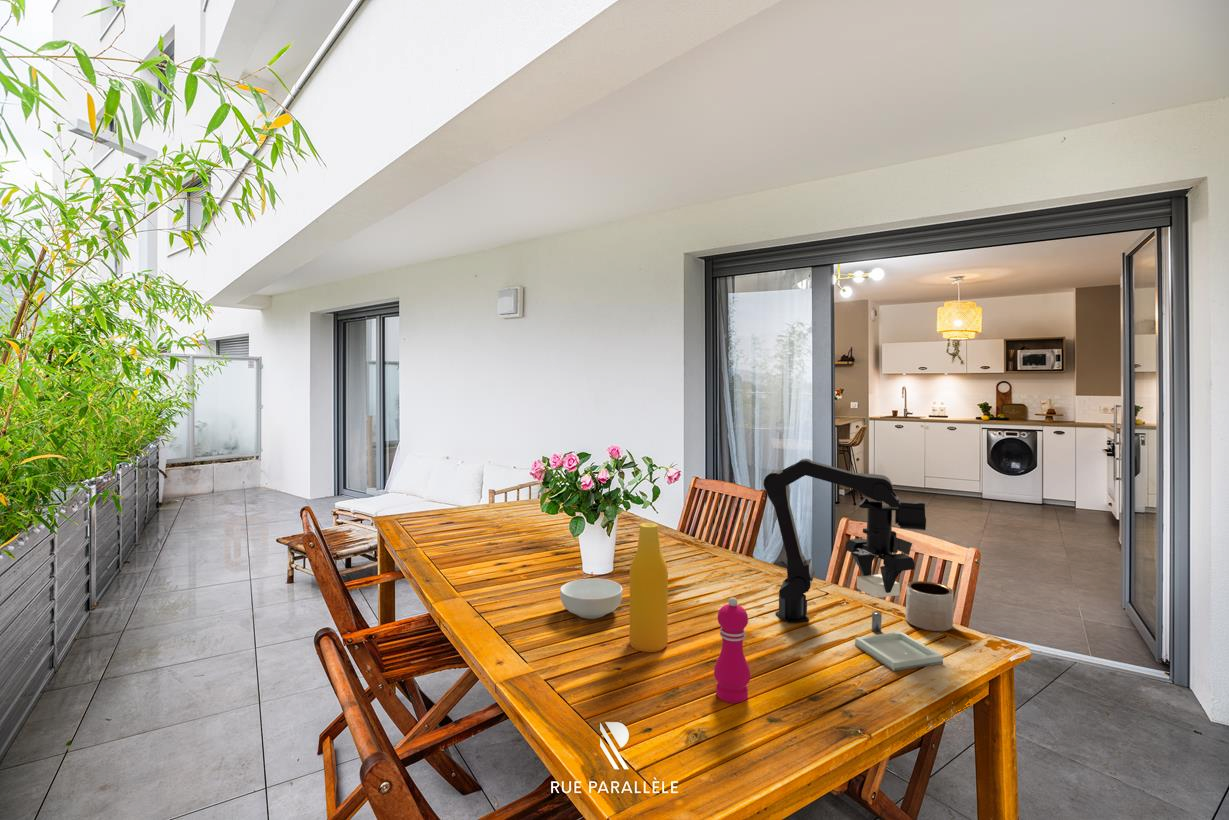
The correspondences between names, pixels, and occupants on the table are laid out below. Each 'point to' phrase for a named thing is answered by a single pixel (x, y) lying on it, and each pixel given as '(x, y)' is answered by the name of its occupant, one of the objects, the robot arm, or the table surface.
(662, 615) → the beer bottle
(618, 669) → the table surface
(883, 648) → the tray
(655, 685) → the table surface
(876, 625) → the post
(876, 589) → the white block
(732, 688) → the pepper mill
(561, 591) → the cereal bowl
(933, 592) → the planter
